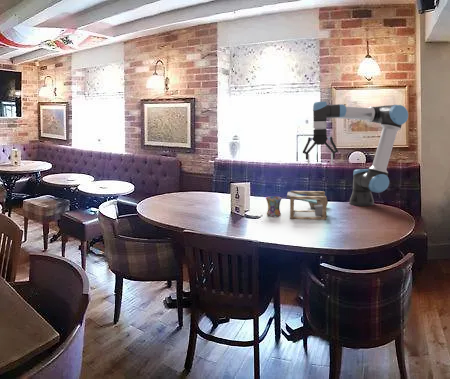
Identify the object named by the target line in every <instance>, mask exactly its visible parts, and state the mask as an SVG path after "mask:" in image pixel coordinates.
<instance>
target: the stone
mask: <svg viewBox="0 0 450 379" xmlns="http://www.w3.org/2000/svg"><path fill="white" fill-rule="evenodd" d="M314 207H315V208H314V211H315V216H320V215H322V210H323V204H322V205H314Z"/></svg>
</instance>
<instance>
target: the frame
mask: <svg viewBox="0 0 450 379" xmlns="http://www.w3.org/2000/svg"><path fill="white" fill-rule="evenodd" d="M290 192H291V193H296V194H300V195H305V196H290V199H289V200H290V202H289V203H290V204H289V207H290V208H289V209H290V211H289V213H290V214H289V219H291V220H319V221H320V220H323V221H324V220H325V221H326V220H327V208H328V207H327V206H328V204H327V201H328V199H327V198H328V197H327V196H326V195H325V194H326V192H325V191H324V190H323V191H321V190H317V191H316V190H290ZM307 194H321V196H307ZM298 199H313V200H321V205H322V204H323V210H322V215H321V217H296V216H295V212H315V210H310V209H309V210H303V209H302V210H296V209H295V200H298Z"/></svg>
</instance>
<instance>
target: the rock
mask: <svg viewBox="0 0 450 379" xmlns="http://www.w3.org/2000/svg"><path fill="white" fill-rule="evenodd" d="M306 196H321V194H306ZM308 204H309V207H310V208H314V209H315V207H314V205H321V200H317V204H315V203H311V202H308ZM327 205H329V204H328V200H327Z"/></svg>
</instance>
